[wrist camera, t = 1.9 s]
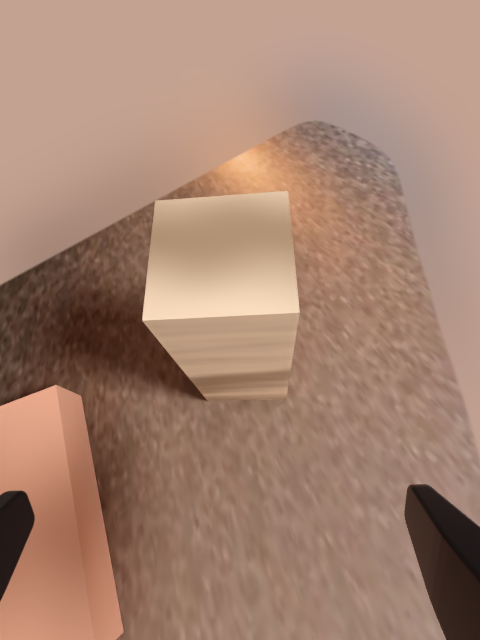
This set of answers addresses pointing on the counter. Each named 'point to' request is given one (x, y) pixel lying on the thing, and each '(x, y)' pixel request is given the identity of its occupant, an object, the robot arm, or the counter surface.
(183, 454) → the counter surface
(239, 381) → the birch block
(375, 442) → the counter surface
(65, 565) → the terracotta stand
